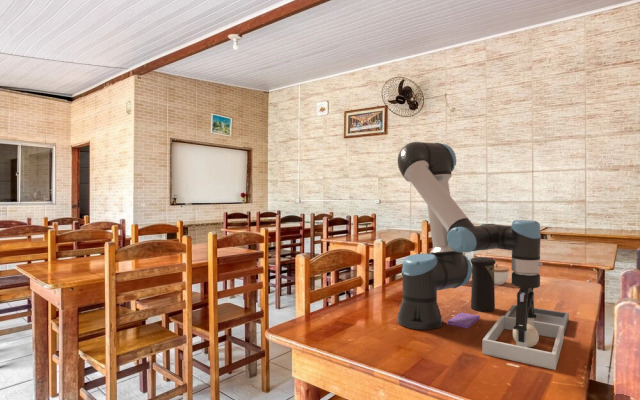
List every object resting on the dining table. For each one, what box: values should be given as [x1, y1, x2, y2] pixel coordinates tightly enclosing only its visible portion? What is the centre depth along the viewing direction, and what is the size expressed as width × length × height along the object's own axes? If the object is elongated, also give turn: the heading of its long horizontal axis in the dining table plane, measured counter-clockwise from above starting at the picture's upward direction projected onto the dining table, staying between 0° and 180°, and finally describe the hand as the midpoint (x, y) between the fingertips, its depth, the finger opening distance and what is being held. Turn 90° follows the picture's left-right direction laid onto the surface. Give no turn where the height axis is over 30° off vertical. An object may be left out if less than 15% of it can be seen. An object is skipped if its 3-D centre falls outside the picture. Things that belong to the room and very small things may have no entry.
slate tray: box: [504, 304, 570, 337], centre depth 140 cm, size 18×18×2 cm
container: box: [470, 256, 496, 313], centre depth 155 cm, size 9×9×20 cm
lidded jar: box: [494, 263, 510, 286], centre depth 196 cm, size 11×11×9 cm
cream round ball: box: [512, 324, 540, 348], centre depth 119 cm, size 7×7×7 cm
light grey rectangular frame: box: [481, 315, 565, 371], centre depth 119 cm, size 26×18×4 cm
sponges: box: [447, 312, 481, 329], centre depth 141 cm, size 7×13×2 cm, turn 141°
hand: (525, 345), depth 119 cm, fingers open, 12 cm apart
